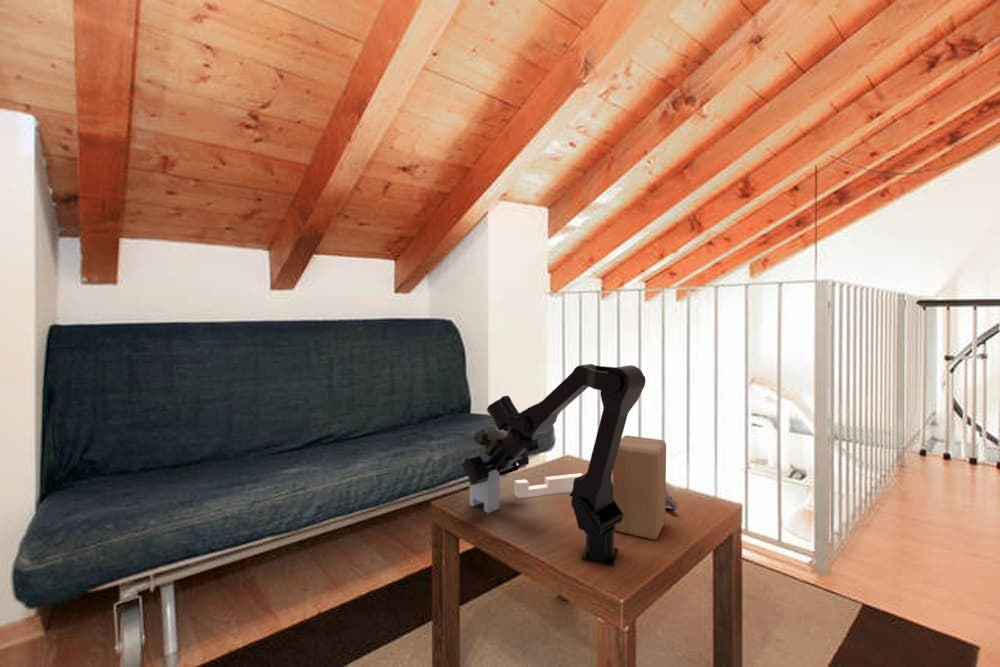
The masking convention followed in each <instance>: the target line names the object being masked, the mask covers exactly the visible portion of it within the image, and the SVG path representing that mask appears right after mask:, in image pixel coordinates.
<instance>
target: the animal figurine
mask: <svg viewBox="0 0 1000 667" xmlns="http://www.w3.org/2000/svg"><path fill="white" fill-rule="evenodd" d="M677 508H678V507H677V501H676V500H675V499H674V498H672V496H670V495H669V493H668V491H667V490H666V495H665V509H672V510H675V509H677Z"/></svg>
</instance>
